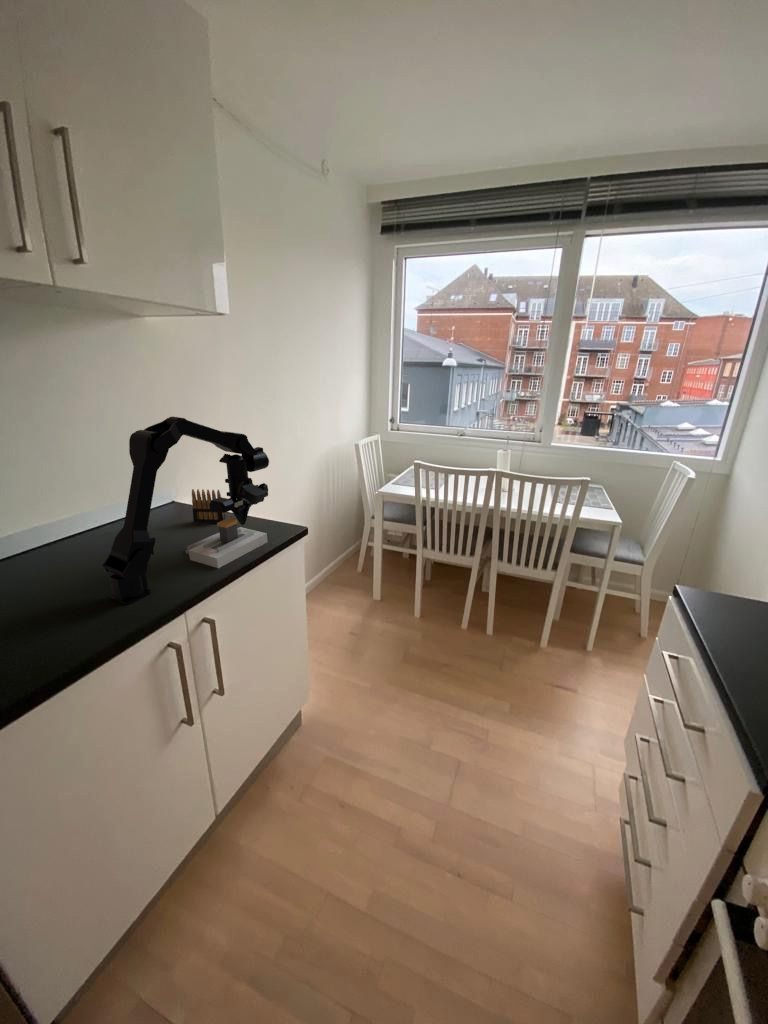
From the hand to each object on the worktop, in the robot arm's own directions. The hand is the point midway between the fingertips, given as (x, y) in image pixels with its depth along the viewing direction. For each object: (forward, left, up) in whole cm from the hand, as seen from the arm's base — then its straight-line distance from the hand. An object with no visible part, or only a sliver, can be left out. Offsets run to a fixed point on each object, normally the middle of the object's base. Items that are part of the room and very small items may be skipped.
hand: (242, 524), depth 129 cm
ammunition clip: (+8, +24, -7) cm, 26 cm away
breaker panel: (-6, 0, -6) cm, 9 cm away
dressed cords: (-6, +9, -6) cm, 12 cm away
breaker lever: (-6, 0, -3) cm, 7 cm away
